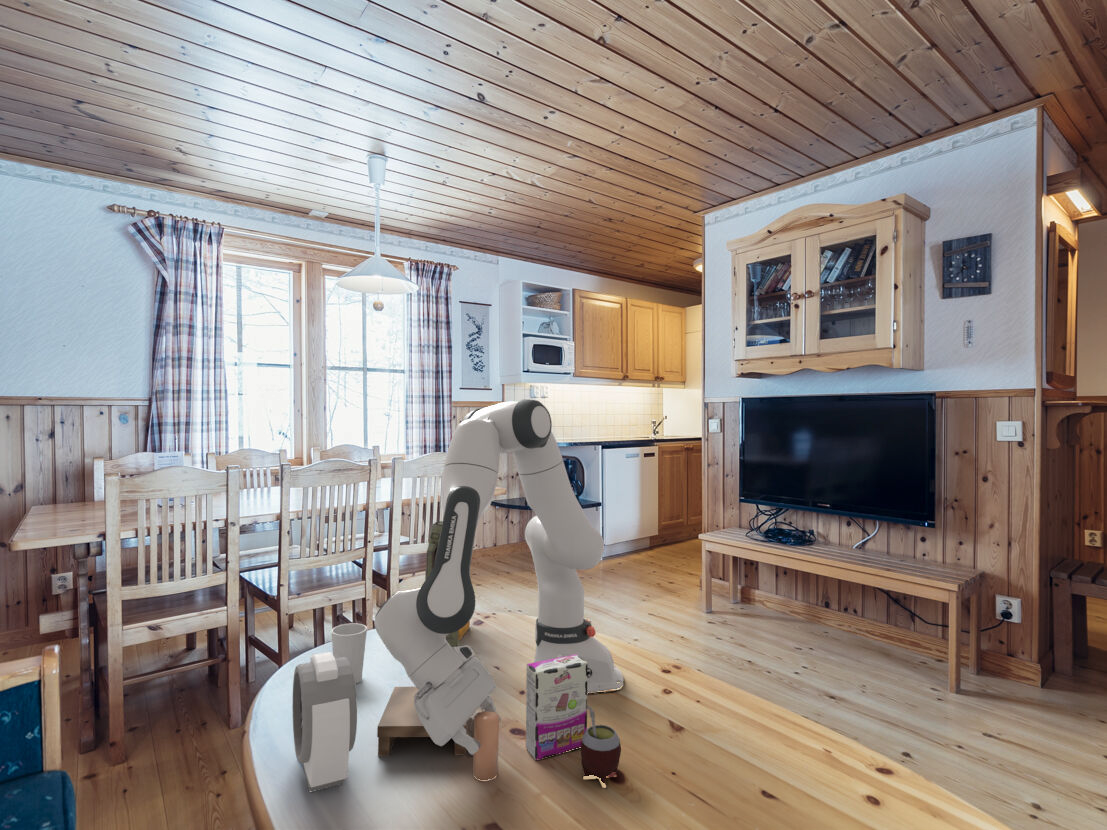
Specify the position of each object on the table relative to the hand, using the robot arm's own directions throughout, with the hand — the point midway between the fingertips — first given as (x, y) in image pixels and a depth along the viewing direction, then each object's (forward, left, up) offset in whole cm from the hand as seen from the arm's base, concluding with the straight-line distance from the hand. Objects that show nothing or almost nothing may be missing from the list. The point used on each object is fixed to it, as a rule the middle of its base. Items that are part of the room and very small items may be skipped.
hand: (487, 736), depth 106 cm
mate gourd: (-20, +2, -7) cm, 21 cm away
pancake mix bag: (+12, -68, -7) cm, 70 cm away
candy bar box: (-13, -8, -7) cm, 17 cm away
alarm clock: (+29, -2, -7) cm, 30 cm away
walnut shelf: (+12, -13, -7) cm, 19 cm away
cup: (+34, -38, -7) cm, 52 cm away
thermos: (+14, -51, -7) cm, 53 cm away
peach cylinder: (0, 0, -7) cm, 7 cm away
